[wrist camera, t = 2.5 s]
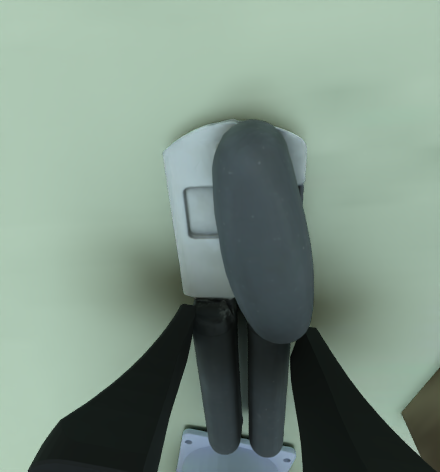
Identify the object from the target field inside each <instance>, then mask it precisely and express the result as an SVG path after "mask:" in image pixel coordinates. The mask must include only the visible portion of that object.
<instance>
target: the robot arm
mask: <svg viewBox="0 0 440 472" xmlns="http://www.w3.org/2000/svg"><path fill="white" fill-rule="evenodd" d="M196 309H197V306H193V305H188V304H182V305H180V307H179V309H178V311H177V313H176V314H175V316H174V318H173V319H172V321H171V322H170V323H169V325H168V326H167V327H166V329H165V330H164V331H163V333H162V334H161V335H160V337H159V338H158V339H157V340H156V341H155V342H154V344H153V345H152V346H151V347H150V348H149V349H148V350H147V351H146V353H145V354H144V355H143V356H142V357H141V358H140V359H139V360H138V361H137V362H136V363H135V364H134V365H133V366H132V367H131V368H129V369H128V370H127V371H126V372H125V373H124V374H123V375H122V376H120V377H119V378H118V379H117V380H116V381H115V382H113V383H112V384H111V385H110V386H108V387H107V388H106V389H104V390H103V391H102V392H100V393H99V394H98V395H97V396H95V397H94V398H93V399H91V400H90V401H88V402H87V403H86V404H84V405H83V406H81V407H79V408H78V409H76V410H75V411H73V412H72V413H70V414H69V415H67V416H66V417H64V418H63V419H61V420H60V421H59V422H58V424H57V425H56V426H55V428H54V429H53V430H52V431H51V433H50V434H49V436H48V437H47V438H46V440H45V441H44V443H43V444H42V446H41V448H40V449H39V451H38V453H37V455H36V457H35V458H34V460H33V462H32V464H31V466H30V467H29V469H28V472H157V471H158V466H159V462H160V457H161V453H162V448H163V444H164V440H165V435H166V431H167V426H168V422H169V418H170V414H171V411H172V407H173V404H174V401H175V398H176V395H177V392H178V388H179V385H180V382H181V379H182V376H183V372H184V369H185V366H186V363H187V359H188V354H189V350H190V345H191V340H192V334H193V327H194V320H195V315H196ZM290 370H291V383H292V390H293V396H294V402H295V408H296V414H297V420H298V426H299V432H300V440H301V450H302V463H303V472H437V471H436V470H434V469H433V468H432V467H431V466H430V465H429V464H428V463H427V462H425V461H424V460H423V459H422V458H421V457H420V456H419V455H418V454H417V453H416V452H415V451H413V450H412V449H411V448H410V447H409V446H408V445H407V444H406V443H405V442H404V441H403V440H402V439H401V438H400V437H399V436H398V435H397V434H396V433H395V432H394V431H393V430H392V429H391V428H390V427H389V426H388V425H387V423H386V422H385V421H384V420H383V419H382V418H381V417H380V416H379V415H378V414H377V412H376V411H375V410H374V409H373V408H372V407H371V405H370V404H369V403H368V402H367V401H366V399H365V398H364V397H363V396H362V395H361V393H360V392H359V391H358V389H357V388H356V387H355V385H354V384H353V383H352V381H351V380H350V379H349V377H348V376H347V375H346V373H345V372H344V370H343V369H342V367H341V366H340V364H339V363H338V361H337V360H336V358H335V357H334V355H333V354H332V352H331V351H330V349H329V348H328V346H327V344H326V343H325V341H324V340H323V338H322V336H321V335H320V333H319V332H318V330H317V329H316V328H313V327H309V328H308V329H307V331H306V333H305V334H304V335H303V336H302V337H300V338H299V339H297V341H296V343H295V346H294V348H293V351H292V353H291V356H290ZM295 458H296V451H295V449H293V448H291V447H287V446H282V448H281V450H280V452H279V453H278V454H277V455H276V456H274V457H271V458H265V457H261V456H259V455H258V454H256V453H255V452H254V450H253V449H252V447H251V445H250V441H249V439H244V438H241V440H240V444H239V446H238V448H237V449H236V450H235V451H234V452H233V453H231V454H229V455H221V454H218V453H217V452H215V451H214V450H213V449H212V447H211V446H210V443H209V440H208V433H207V432H206V431H201V430H195V429H185V430H184V431H183V435H182V441H181V447H180V453H179V458H178V464H177V470H176V472H288V471H289V469H290V468H291V466H292V464H293V462H294V460H295Z"/></svg>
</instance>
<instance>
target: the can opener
mask: <svg viewBox="0 0 440 472" xmlns="http://www.w3.org/2000/svg"><path fill="white" fill-rule="evenodd" d="M163 160H164V167H165V174H166V180H167V188H168V194H169V200H170V206H171V213H172V220H173V227H174V233H175V239H176V246H177V252H178V259H179V264H180V272H181V279H182V286H183V292H184V294H185V295H187V296H191V297H193V298H194V299H195V300H194V303H193V306H197V309H196V315H195V320H194V327H193V339H194V345H195V352H196V359H197V366H198V373H199V380H200V386H201V392H202V399H203V406H204V413H205V420H206V427H207V433H208V440H209V443H210V446H211V447H212V449H213V450H214V451H215V452H217V453H218V454H221V455H229V454H231V453H233V452H234V451H235V450H236V449H237V448H238V446H239V444H240V440H241V434H242V424H243V417H242V402H241V392H240V371H239V354H238V334H237V307H236V301H237V303H238V305H239V307H240V310H241V311H242V313H243V314H244V316H245V318H246V320H247V331H248V405H249V441H250V445H251V447H252V449H253V450H254V452H255V453H256V454H258V455H259V456H261V457H265V458H271V457H274V456H276V455H277V454H278V453H279V452H280V450H281V448H282V446H283V436H284V422H285V409H286V394H287V381H288V367H289V355H290V343H291V342H293V341H295V340H297V339H299V338H300V337H302V336H303V335H304V334H305V333H306V331H307V329H308V328H309V326H310V322H311V317H312V311H313V300H314V270H313V259H312V251H311V243H310V238H309V233H308V228H307V223H306V219H305V214H304V209H303V192H304V186H303V183H304V182H305V172H306V160H307V146H306V143H305V142H304V140H303V139H302V138H301V137H299V136H298V135H296V134H294V133H292V132H290V131H287V130H285V129H282V128H279V127H276V126H273V125H271V124H269V123H267V122H265V121H261V120H253V119H249V120H246V121H238V120H236V119H229V120H225V121H222V122H217V123H211V124H208V125H204V126H202V127H199V128H197V129H194V130H192V131H190V132H189V133H187V134H185V135H183V136H182V137H180V138H179V139H177V140H176V141H175V142H173V143H172V144H171V145H170V146H169V147H168V148H167V149H165V150H164V151H163Z"/></svg>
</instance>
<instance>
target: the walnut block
mask: <svg viewBox="0 0 440 472" xmlns="http://www.w3.org/2000/svg"><path fill="white" fill-rule="evenodd" d="M402 416H403V418H404V420H405V422H406V425H407V427H408V429H409V431H410V434H411V436H412V438H413V440H414V443H415V445H416V447H417V450H418V452H419V454H420V456H421V458H422V459H423V460H424V461H425V462H427V463H428V464H429V465H430V466H431V467H432V468H433V469H434V470H436V471H437V472H440V368H439V369H438V370H437V372H436V373H435V374H434V375H433V376H432V377H431V379H430V380H429V381H428V382H427V383H426V384H425V386H424V387H423V388H422V389H421V390H420V391H419V393H418V394H417V395H416V396H415V397H414V398H413V400H412V401H411V402H410V403H409V404H408V405H407V407H406V408H405V409H404V410H403V411H402Z"/></svg>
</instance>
